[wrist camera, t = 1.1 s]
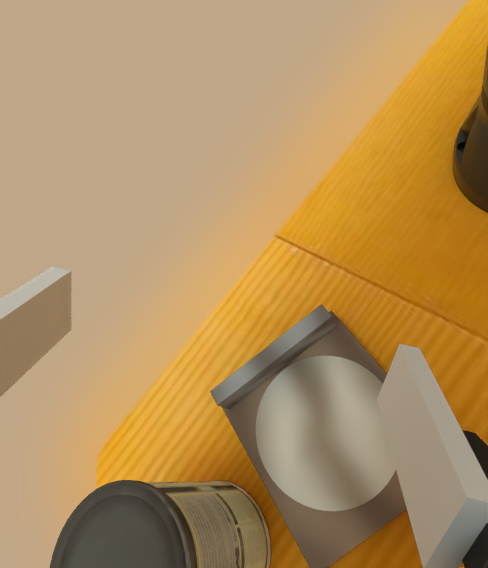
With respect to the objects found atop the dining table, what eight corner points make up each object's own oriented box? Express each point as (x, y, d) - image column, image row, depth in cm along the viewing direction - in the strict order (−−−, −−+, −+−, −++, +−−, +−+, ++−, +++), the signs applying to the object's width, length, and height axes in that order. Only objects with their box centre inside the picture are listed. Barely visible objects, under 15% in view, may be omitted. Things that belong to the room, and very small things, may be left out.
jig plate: (335, 317, 39) (325, 300, 36) (464, 465, 30) (469, 463, 27) (226, 402, 40) (205, 394, 36) (320, 571, 31) (306, 584, 27)
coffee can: (200, 648, 32) (71, 743, 21) (151, 523, 38) (29, 543, 26) (297, 570, 32) (222, 621, 20) (232, 456, 38) (145, 445, 26)
